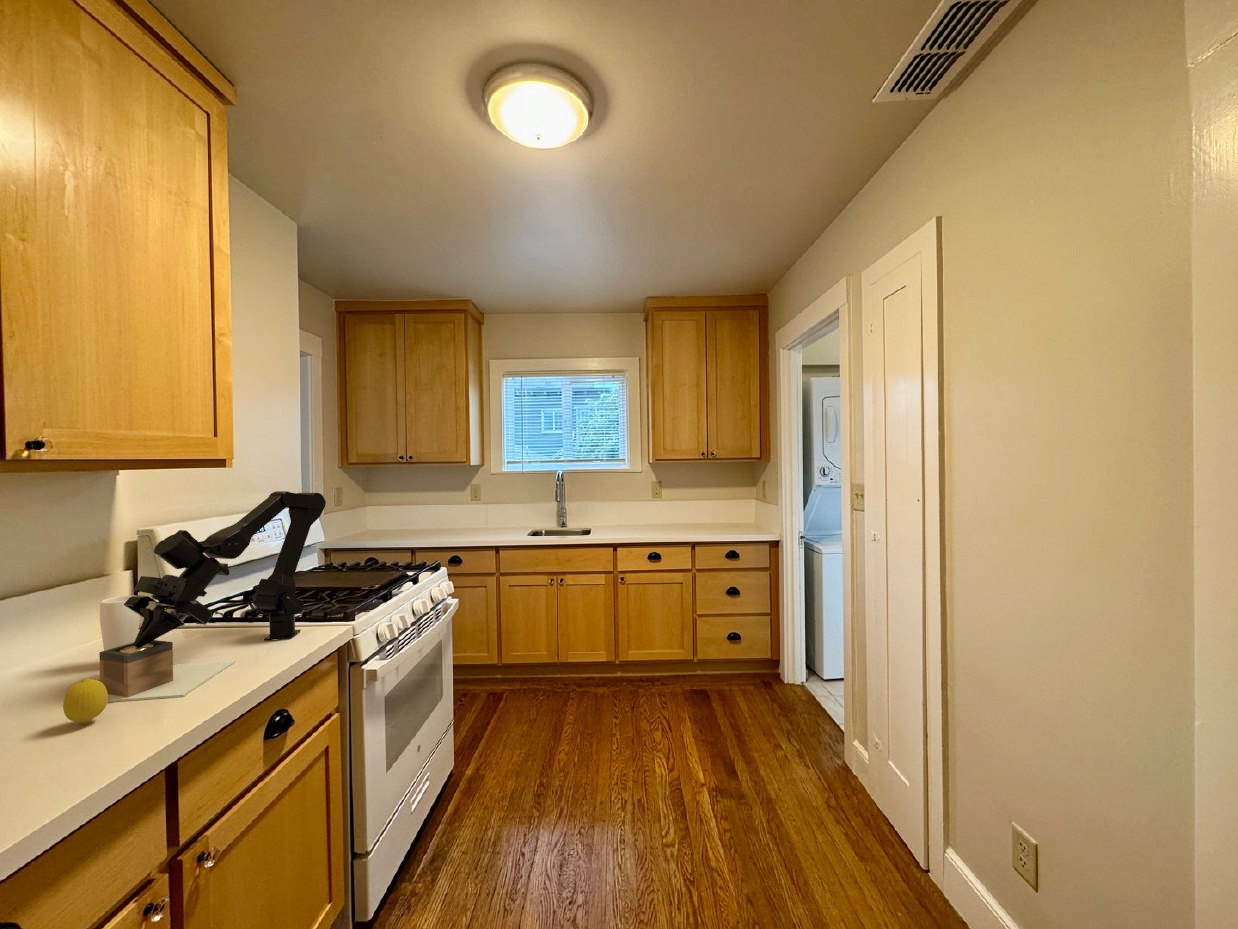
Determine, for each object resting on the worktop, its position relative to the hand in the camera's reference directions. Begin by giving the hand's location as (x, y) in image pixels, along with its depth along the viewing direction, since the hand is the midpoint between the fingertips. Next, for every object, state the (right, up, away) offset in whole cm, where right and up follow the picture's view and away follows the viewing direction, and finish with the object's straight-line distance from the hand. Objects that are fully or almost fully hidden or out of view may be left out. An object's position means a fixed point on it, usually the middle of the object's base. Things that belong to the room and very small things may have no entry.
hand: (136, 646), depth 107 cm
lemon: (+4, -9, -14) cm, 17 cm away
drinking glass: (-16, -9, +14) cm, 23 cm away
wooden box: (0, -9, 0) cm, 9 cm away
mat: (+3, -9, +4) cm, 10 cm away
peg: (0, -9, 0) cm, 9 cm away
